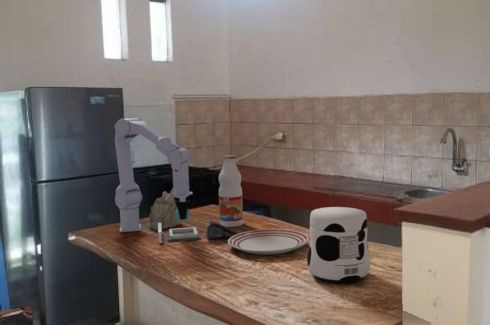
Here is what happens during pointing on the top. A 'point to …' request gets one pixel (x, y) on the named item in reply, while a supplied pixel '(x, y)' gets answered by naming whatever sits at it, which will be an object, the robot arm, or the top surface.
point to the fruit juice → (230, 194)
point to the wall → (159, 232)
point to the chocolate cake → (219, 232)
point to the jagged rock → (163, 212)
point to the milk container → (338, 244)
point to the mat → (183, 234)
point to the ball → (179, 217)
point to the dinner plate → (268, 241)
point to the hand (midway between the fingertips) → (182, 217)
